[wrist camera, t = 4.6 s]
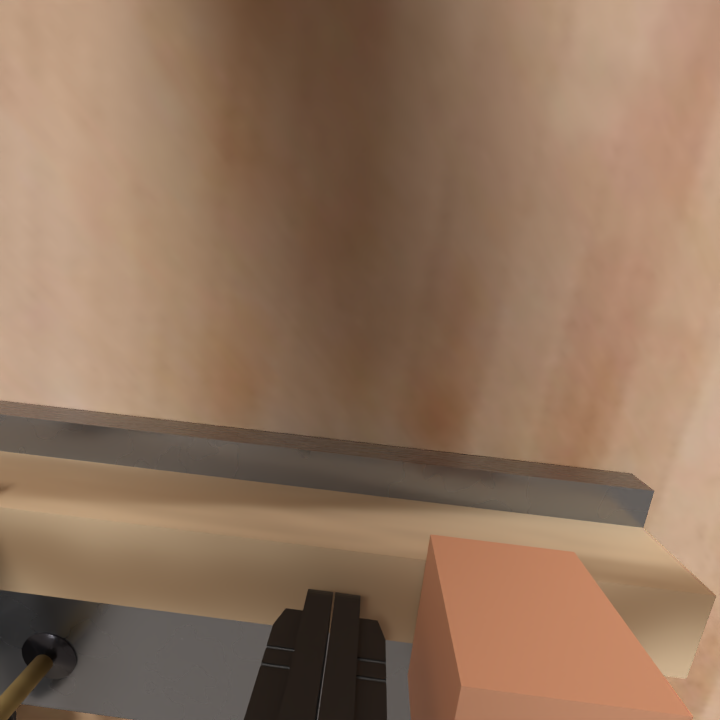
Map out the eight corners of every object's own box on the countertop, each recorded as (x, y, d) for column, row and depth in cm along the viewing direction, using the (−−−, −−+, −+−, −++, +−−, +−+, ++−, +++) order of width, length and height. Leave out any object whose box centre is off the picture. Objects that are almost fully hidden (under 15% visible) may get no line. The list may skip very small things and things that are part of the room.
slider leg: (419, 480, 13) (461, 685, 7) (532, 493, 13) (693, 716, 6) (384, 717, 16) (388, 1049, 9) (479, 730, 15) (557, 1076, 9)
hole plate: (-41, 396, 15) (-78, 406, 14) (631, 473, 14) (655, 492, 13) (-5, 669, 18) (-33, 698, 17) (555, 745, 17) (568, 781, 16)
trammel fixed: (-74, 418, 14) (-526, 555, 7) (650, 503, 13) (954, 751, 6) (-38, 652, 16) (-351, 931, 9) (580, 735, 16) (746, 1107, 9)
